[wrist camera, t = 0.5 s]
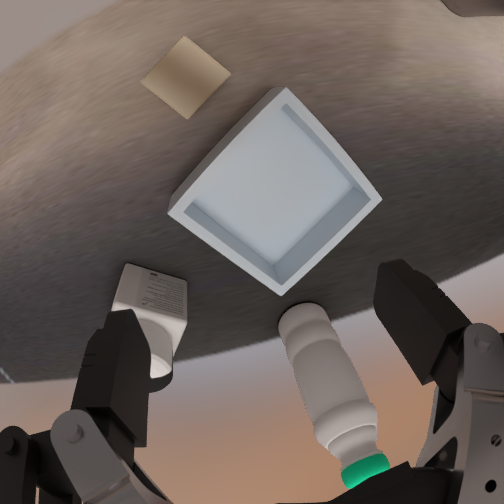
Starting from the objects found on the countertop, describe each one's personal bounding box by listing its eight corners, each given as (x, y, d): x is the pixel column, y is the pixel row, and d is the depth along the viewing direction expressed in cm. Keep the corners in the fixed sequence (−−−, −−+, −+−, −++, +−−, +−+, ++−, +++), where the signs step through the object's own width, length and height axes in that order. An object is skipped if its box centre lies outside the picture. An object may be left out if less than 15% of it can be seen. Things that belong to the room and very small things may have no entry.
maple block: (186, 47, 23) (184, 35, 18) (224, 78, 26) (231, 74, 21) (151, 84, 25) (140, 82, 20) (189, 115, 27) (187, 120, 22)
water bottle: (269, 334, 43) (321, 500, 21) (289, 296, 40) (364, 474, 18) (311, 339, 45) (373, 486, 23) (332, 304, 42) (416, 458, 21)
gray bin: (272, 87, 27) (286, 86, 22) (360, 184, 34) (382, 199, 29) (171, 195, 31) (167, 213, 26) (270, 271, 37) (281, 296, 33)
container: (170, 324, 39) (168, 407, 28) (114, 309, 36) (95, 390, 25) (188, 279, 36) (189, 363, 25) (126, 261, 33) (101, 341, 22)
